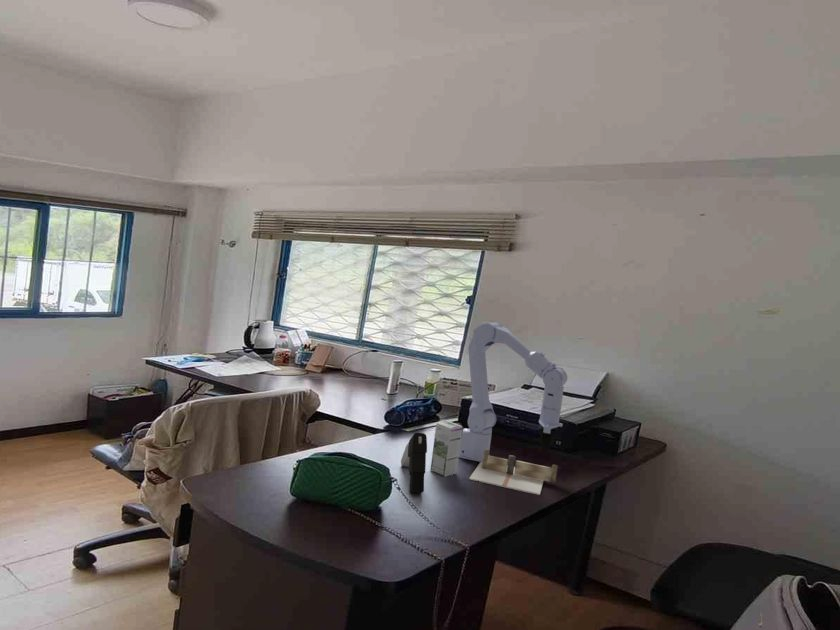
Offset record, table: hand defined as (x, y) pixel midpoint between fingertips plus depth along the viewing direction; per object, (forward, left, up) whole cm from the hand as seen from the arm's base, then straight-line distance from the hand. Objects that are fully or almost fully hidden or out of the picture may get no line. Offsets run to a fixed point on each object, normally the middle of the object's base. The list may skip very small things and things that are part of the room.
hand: (544, 451), depth 175 cm
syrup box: (-27, -16, -8) cm, 32 cm away
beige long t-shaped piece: (-2, -5, -7) cm, 9 cm away
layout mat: (-9, -7, -8) cm, 14 cm away
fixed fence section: (-13, -5, -7) cm, 16 cm away
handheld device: (-33, -28, -8) cm, 44 cm away
